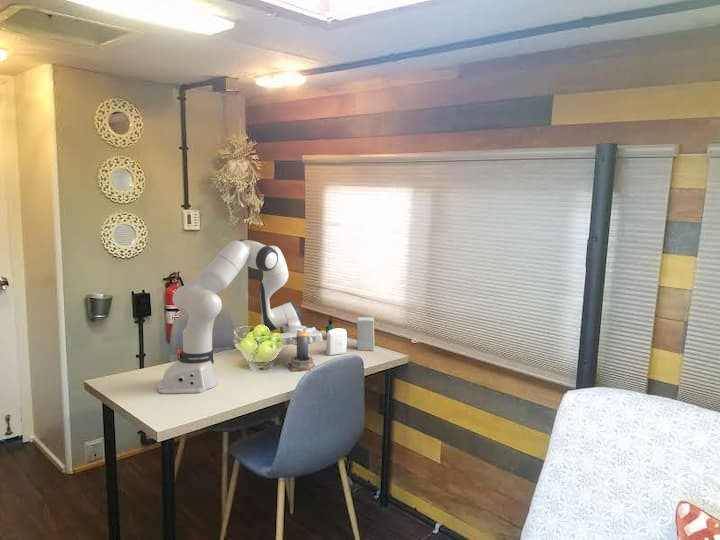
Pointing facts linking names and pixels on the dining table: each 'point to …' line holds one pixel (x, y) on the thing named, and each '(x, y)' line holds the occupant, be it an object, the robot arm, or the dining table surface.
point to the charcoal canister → (302, 345)
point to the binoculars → (329, 326)
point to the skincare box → (365, 333)
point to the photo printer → (336, 341)
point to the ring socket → (301, 364)
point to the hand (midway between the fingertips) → (302, 342)
